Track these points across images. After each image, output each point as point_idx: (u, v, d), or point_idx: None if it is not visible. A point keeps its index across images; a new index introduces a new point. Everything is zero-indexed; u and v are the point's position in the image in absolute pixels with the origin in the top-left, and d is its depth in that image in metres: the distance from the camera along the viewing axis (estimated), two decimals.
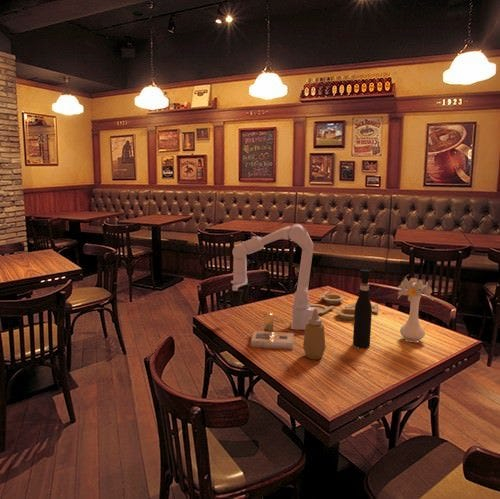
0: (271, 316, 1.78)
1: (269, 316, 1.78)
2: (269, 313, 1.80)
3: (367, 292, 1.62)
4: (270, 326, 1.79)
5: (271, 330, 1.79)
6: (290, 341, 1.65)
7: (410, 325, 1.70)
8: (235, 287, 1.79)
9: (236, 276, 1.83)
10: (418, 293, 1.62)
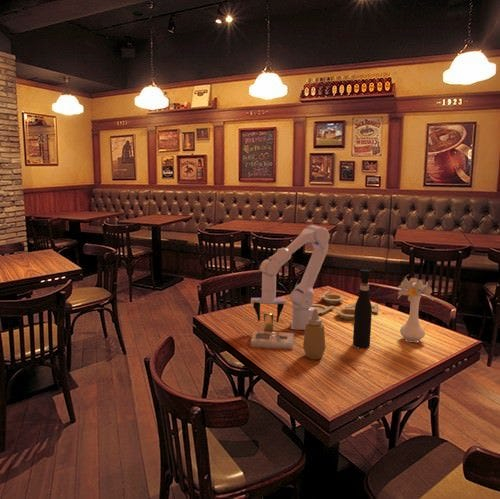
0: (271, 316, 1.78)
1: (269, 316, 1.78)
2: (269, 313, 1.80)
3: (367, 292, 1.62)
4: (270, 326, 1.79)
5: (271, 330, 1.79)
6: (290, 341, 1.65)
7: (410, 325, 1.70)
8: (251, 300, 1.79)
9: None
10: (418, 293, 1.62)
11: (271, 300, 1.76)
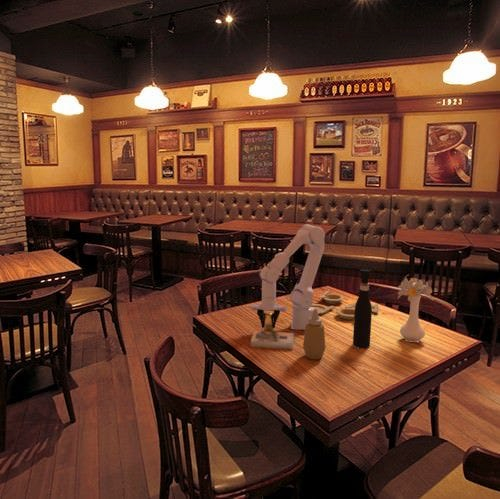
0: (271, 316, 1.78)
1: (269, 316, 1.78)
2: (269, 313, 1.80)
3: (367, 292, 1.62)
4: (270, 326, 1.79)
5: (271, 330, 1.79)
6: (290, 341, 1.65)
7: (410, 325, 1.70)
8: (251, 306, 1.79)
9: None
10: (418, 293, 1.62)
11: (271, 307, 1.76)
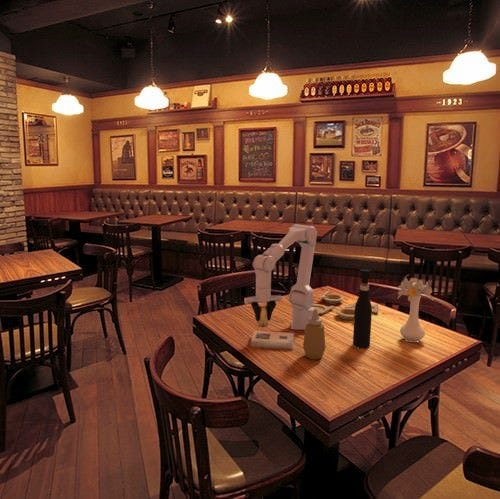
0: (266, 308, 1.67)
1: (265, 308, 1.67)
2: (263, 305, 1.68)
3: (367, 292, 1.62)
4: (266, 319, 1.67)
5: (267, 323, 1.68)
6: (290, 341, 1.65)
7: (410, 325, 1.70)
8: (245, 300, 1.65)
9: None
10: (418, 293, 1.62)
11: (268, 298, 1.65)
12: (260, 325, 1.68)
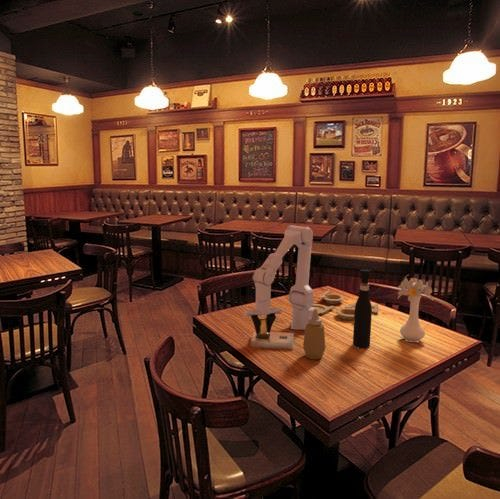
0: (266, 321, 1.68)
1: (265, 321, 1.67)
2: (263, 318, 1.69)
3: (367, 292, 1.62)
4: (266, 331, 1.68)
5: (266, 336, 1.69)
6: (290, 341, 1.65)
7: (410, 325, 1.70)
8: (245, 313, 1.66)
9: None
10: (418, 293, 1.62)
11: (268, 310, 1.66)
12: (260, 338, 1.68)
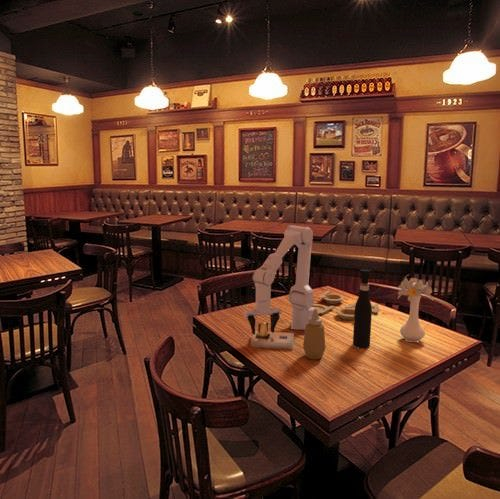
0: (267, 325, 1.68)
1: (265, 325, 1.67)
2: (263, 322, 1.69)
3: (367, 292, 1.62)
4: (266, 336, 1.69)
5: None
6: (290, 341, 1.65)
7: (410, 325, 1.70)
8: (245, 313, 1.66)
9: None
10: (418, 293, 1.62)
11: (268, 311, 1.66)
12: None
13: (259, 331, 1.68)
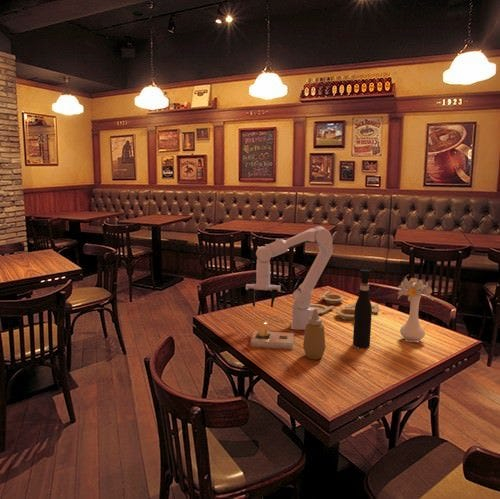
0: (267, 325, 1.68)
1: (265, 325, 1.67)
2: (263, 322, 1.69)
3: (367, 292, 1.62)
4: (266, 336, 1.69)
5: None
6: (290, 341, 1.65)
7: (410, 325, 1.70)
8: None
9: None
10: (418, 293, 1.62)
11: (265, 286, 1.80)
12: None
13: (259, 331, 1.68)
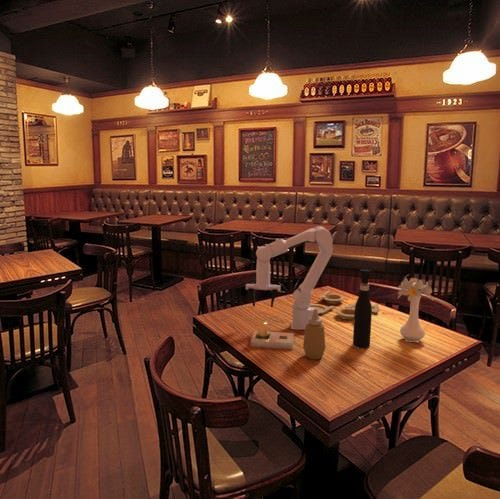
0: (267, 325, 1.68)
1: (265, 325, 1.67)
2: (263, 322, 1.69)
3: (367, 292, 1.62)
4: (266, 336, 1.68)
5: None
6: (290, 341, 1.65)
7: (410, 325, 1.70)
8: (246, 285, 1.83)
9: None
10: (418, 293, 1.62)
11: (265, 286, 1.80)
12: None
13: (259, 331, 1.68)
